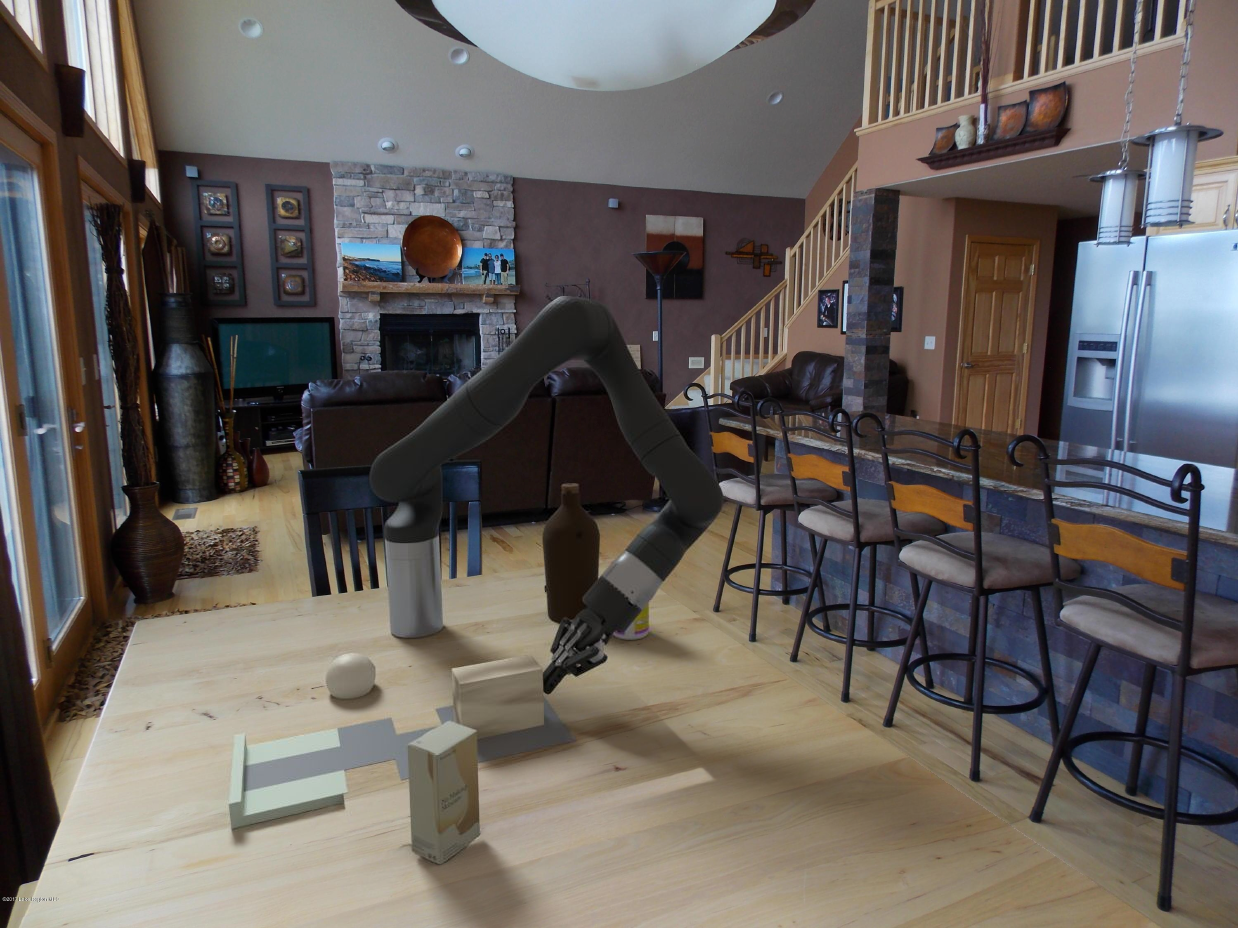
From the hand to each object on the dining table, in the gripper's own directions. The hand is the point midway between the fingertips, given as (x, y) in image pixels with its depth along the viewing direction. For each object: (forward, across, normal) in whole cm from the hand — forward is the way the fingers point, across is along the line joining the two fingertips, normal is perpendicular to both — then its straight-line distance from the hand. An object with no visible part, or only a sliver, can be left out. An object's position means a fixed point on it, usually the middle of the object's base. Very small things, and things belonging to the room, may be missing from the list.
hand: (541, 689), depth 108 cm
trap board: (+16, 0, -9) cm, 18 cm away
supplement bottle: (-13, -24, +21) cm, 34 cm away
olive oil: (-9, -37, +16) cm, 41 cm away
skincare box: (+16, +20, -8) cm, 27 cm away
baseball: (+20, -19, -12) cm, 30 cm away
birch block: (+7, 0, -2) cm, 7 cm away
